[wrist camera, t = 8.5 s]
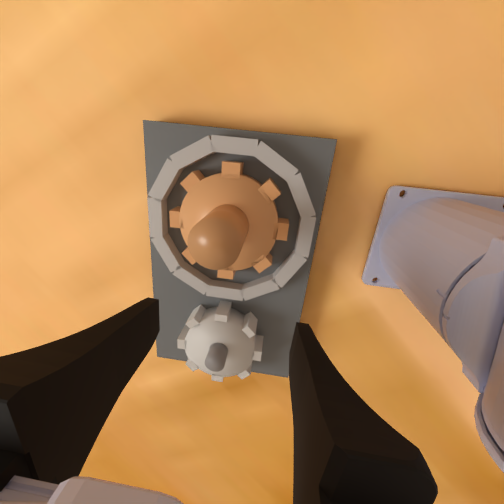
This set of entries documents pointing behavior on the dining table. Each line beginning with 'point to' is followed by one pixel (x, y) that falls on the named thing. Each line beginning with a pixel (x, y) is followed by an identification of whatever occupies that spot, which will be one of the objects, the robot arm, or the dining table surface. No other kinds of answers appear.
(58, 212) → the dining table surface
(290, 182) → the carrier plate
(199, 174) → the planet gear
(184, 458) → the dining table surface
